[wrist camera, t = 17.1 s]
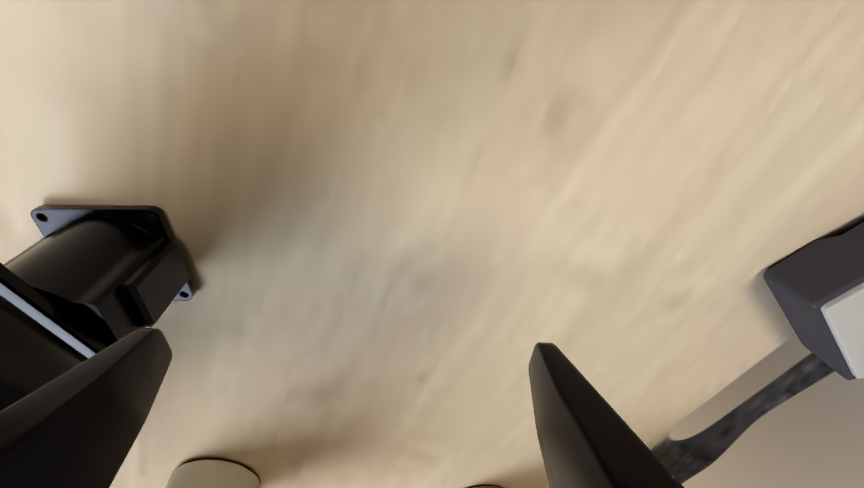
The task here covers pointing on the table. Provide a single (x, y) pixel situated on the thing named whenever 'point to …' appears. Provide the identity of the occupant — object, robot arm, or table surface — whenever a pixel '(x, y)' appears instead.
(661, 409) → the table surface
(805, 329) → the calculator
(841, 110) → the table surface
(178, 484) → the travel mug
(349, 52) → the table surface
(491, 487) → the plant pot
